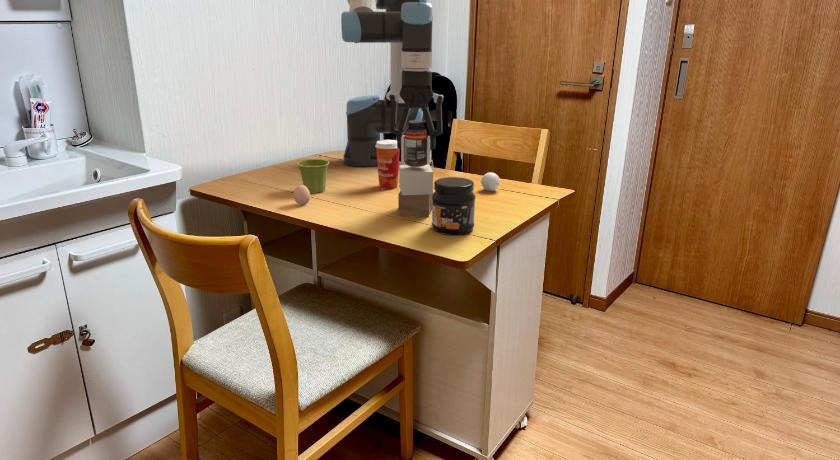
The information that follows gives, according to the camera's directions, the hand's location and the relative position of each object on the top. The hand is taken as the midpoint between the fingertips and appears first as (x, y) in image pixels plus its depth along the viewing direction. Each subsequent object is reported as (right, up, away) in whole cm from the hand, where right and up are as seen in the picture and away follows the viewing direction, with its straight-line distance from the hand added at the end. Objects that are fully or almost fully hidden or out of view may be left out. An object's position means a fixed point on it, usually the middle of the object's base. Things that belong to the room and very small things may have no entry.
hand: (416, 161), depth 150 cm
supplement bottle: (0, -1, 0) cm, 1 cm away
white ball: (+22, -7, +24) cm, 33 cm away
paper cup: (-9, -5, +28) cm, 29 cm away
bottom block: (0, -13, +5) cm, 14 cm away
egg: (-32, -11, +10) cm, 35 cm away
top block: (0, -7, +3) cm, 8 cm away
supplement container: (+9, -18, -8) cm, 22 cm away
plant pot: (-31, -6, +23) cm, 39 cm away
